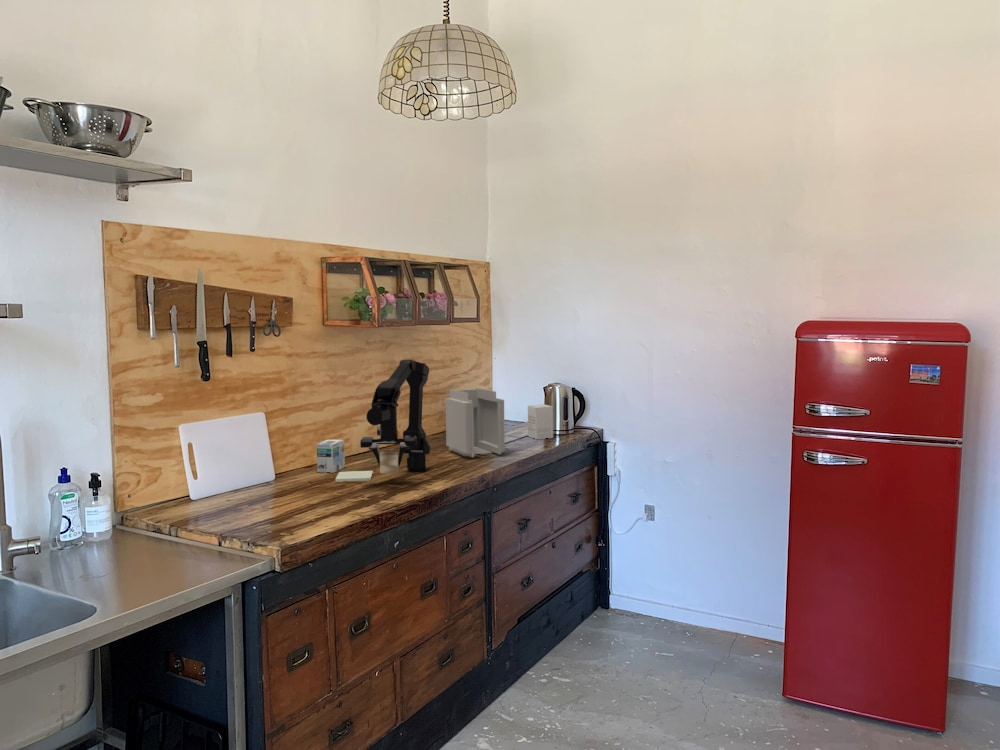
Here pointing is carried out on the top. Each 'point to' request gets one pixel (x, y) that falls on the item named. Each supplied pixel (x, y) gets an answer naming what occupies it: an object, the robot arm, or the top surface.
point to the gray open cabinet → (475, 422)
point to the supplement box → (540, 421)
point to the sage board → (354, 476)
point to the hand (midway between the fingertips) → (389, 466)
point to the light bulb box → (330, 455)
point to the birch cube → (389, 462)
